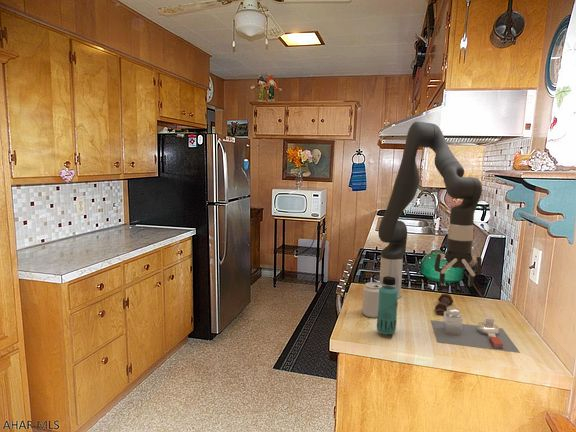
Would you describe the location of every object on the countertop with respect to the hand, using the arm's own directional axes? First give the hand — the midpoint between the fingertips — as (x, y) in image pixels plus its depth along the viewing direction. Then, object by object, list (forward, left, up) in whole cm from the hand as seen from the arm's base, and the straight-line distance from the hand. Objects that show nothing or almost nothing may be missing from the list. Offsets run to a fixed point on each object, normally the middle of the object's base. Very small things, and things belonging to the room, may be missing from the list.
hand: (455, 284), depth 127 cm
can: (-27, +9, -18) cm, 34 cm away
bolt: (0, +21, -18) cm, 28 cm away
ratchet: (+12, -1, -17) cm, 20 cm away
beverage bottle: (-22, -7, -18) cm, 29 cm away
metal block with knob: (0, 0, -17) cm, 17 cm away
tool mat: (+6, -1, -17) cm, 18 cm away
